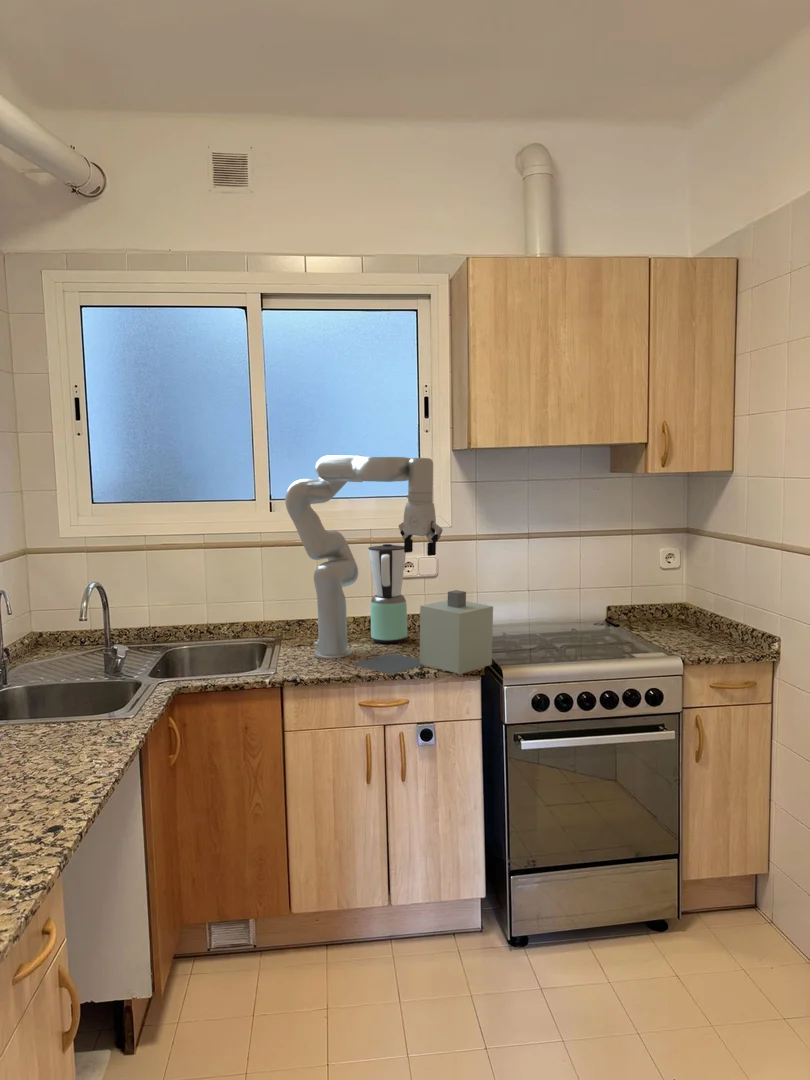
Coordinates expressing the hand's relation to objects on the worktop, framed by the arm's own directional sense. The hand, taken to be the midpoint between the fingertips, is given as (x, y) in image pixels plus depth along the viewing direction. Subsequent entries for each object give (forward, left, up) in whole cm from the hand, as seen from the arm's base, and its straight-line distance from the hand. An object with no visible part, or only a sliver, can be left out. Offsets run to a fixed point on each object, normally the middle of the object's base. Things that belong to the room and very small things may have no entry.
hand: (419, 553), depth 227 cm
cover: (+8, +7, -35) cm, 37 cm away
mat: (-8, -6, -35) cm, 37 cm away
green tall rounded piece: (-31, +15, -36) cm, 49 cm away
